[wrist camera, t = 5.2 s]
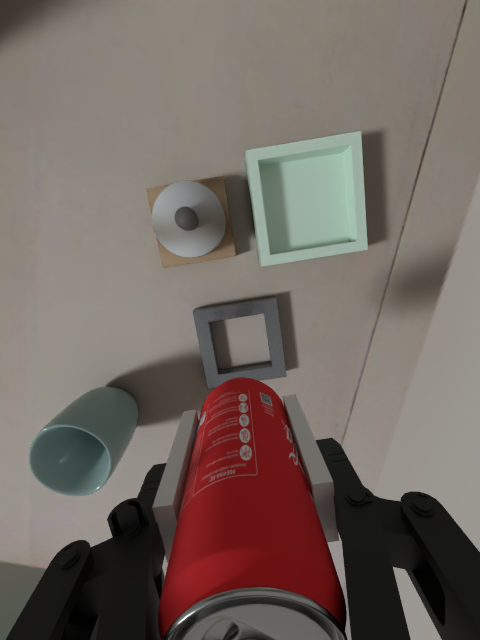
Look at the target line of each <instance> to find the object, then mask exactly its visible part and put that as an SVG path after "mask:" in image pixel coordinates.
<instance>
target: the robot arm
mask: <svg viewBox="0 0 480 640" xmlns="http://www.w3.org/2000/svg"><path fill="white" fill-rule="evenodd" d="M283 401H284V409H285V412H286V416H287V419H288V422H289V425H290V428H291V431H292V434H293V437H294V441H295V444H296V447H297V450H298V453H299V456H300V459H301V462H302V466H303V469H304V472H305V475H306V478H307V481H308V484H309V487H310V491H311V494H312V497H313V500H314V503H315V506H316V509H317V513H318V516H319V519H320V522H321V525H322V528H323V531H324V534H325V538H326V541H327V542H333V541H339V537H338V532H339V535H340V538H341V540H342V547H343V557H344V567H345V577H346V588H347V597H348V608H349V617H350V628H351V637H352V640H410V636H409V632H408V628H407V624H406V619H405V616H404V611H403V607H402V603H401V599H400V595H399V591H398V587H397V583H396V579H395V575H394V571H393V567H397V568H402V569H406V571H407V573H408V575H409V577H410V579H411V581H412V583H413V585H414V587H415V589H416V591H417V593H418V594H419V596H420V598H421V600H422V602H423V604H424V606H425V608H426V610H427V612H428V614H429V616H430V618H431V619H432V621H433V623H434V625H435V627H436V629H437V631H438V633H439V635H440V637H441V639H442V640H480V552H479V551H478V550H477V548H476V547H475V546H474V545H473V543H472V542H471V541H470V540H469V538H468V537H467V536H466V535H465V533H464V532H463V531H462V530H461V528H460V527H459V526H458V525H457V524H456V522H455V521H454V519H453V518H452V517H451V516H450V515H449V513H448V512H447V511H446V510H445V508H444V507H443V506H442V505H441V504H440V503H439V502H438V501H437V500H436V499H435V498H433V497H431V496H430V495H428V494H425V493H421V492H408V493H405V494H404V495H403V496H402V497H401V501H393V500H386V499H382V498H379V497H377V496H374V495H373V493H372V492H371V491H370V490H368V489H367V488H365V487H364V486H363V485H362V483H361V481H360V479H359V477H358V476H357V474H356V472H355V470H354V468H353V467H352V465H351V463H350V461H349V460H348V458H347V456H346V454H345V452H344V450H343V449H342V447H341V445H340V444H339V443H338V442H337V441H335V440H334V439H333V438H328V439H321V440H315V438H314V436H313V434H312V431H311V429H310V427H309V424H308V422H307V420H306V417H305V415H304V413H303V411H302V408H301V406H300V404H299V401H298V399H297V397H296V394H295V395H289V396H283ZM198 424H199V420H198V415H197V410H189V411H184V412H183V415H182V418H181V421H180V424H179V427H178V430H177V433H176V437H175V440H174V443H173V446H172V449H171V452H170V455H169V458H168V461H167V463H164V464H157V465H154V466H153V467H152V468H151V469H150V471H149V472H148V473H147V475H146V477H145V480H144V482H143V485H142V487H141V490H140V492H139V495H138V497H137V498H132V499H127V500H125V501H123V502H121V503H120V504H119V505H117V506H116V507H115V508H114V509H113V510H112V511H111V513H110V514H109V517H108V519H107V521H108V524H109V527H110V530H111V533H112V536H113V537H112V538H110V539H109V540H107V541H104V542H102V543H100V544H98V545H95V546H93V547H90V544H89V543H88V542H87V541H86V540H78V541H75V542H72V543H70V544H69V545H67V546H65V547H64V548H63V549H62V550H60V551H59V552H58V553H57V554H56V556H55V557H54V558H53V560H52V561H51V563H50V564H49V566H48V568H47V569H46V571H45V573H44V575H43V576H42V578H41V580H40V581H39V584H38V585H37V587H36V588H35V590H34V592H33V594H32V595H31V597H30V599H29V600H28V602H27V604H26V606H25V607H24V609H23V611H22V612H21V614H20V616H19V618H18V619H17V621H16V623H15V625H14V626H13V628H12V630H11V631H10V633H9V635H8V637H7V638H6V640H161V638H160V634H159V629H158V610H159V604H160V600H161V595H162V590H163V586H164V573H163V569H162V565H163V560H164V556H166V560H167V563H169V558H170V553H171V549H172V544H173V540H174V535H175V530H176V526H177V521H178V516H179V512H180V507H181V503H182V498H183V493H184V489H185V484H186V479H187V475H188V470H189V466H190V461H191V456H192V452H193V447H194V442H195V438H196V433H197V429H198Z"/></svg>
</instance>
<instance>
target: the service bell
mask: <svg viewBox="0 0 480 640" xmlns="http://www.w3.org/2000/svg"><path fill="white" fill-rule="evenodd" d="M146 190H147V194H148V199H149V204H150V209H151V213H152V225H153V229H154V232H155V234H156V237H157V241H158V246H159V251H160V256H161V260H162V265H163V267H169V266H176V265H182V264H188V263H194V262H201V261H207V260H213V259H219V258H225V257H232V256H236V254H235V247H234V241H233V234H232V228H231V221H230V215H229V209H228V202H227V196H226V189H225V183H224V177H223V176H221V177H215V178H209V179H203V180H197V181H180V182H176V183H174V184H171V185H167V186H161V187H155V188H149V189H146Z"/></svg>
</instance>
